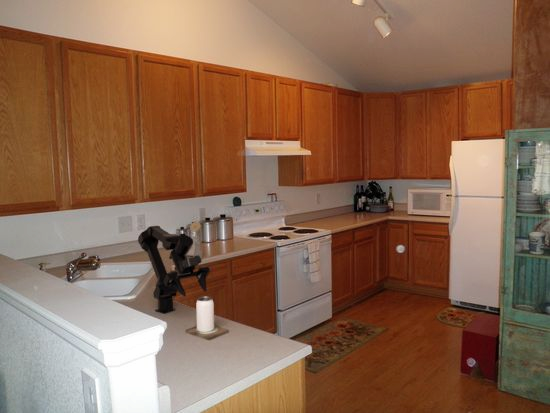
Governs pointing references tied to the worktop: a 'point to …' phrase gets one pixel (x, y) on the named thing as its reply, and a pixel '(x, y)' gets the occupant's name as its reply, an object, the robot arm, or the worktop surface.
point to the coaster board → (208, 335)
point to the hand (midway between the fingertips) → (195, 293)
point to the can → (205, 314)
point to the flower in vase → (194, 237)
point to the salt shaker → (198, 249)
